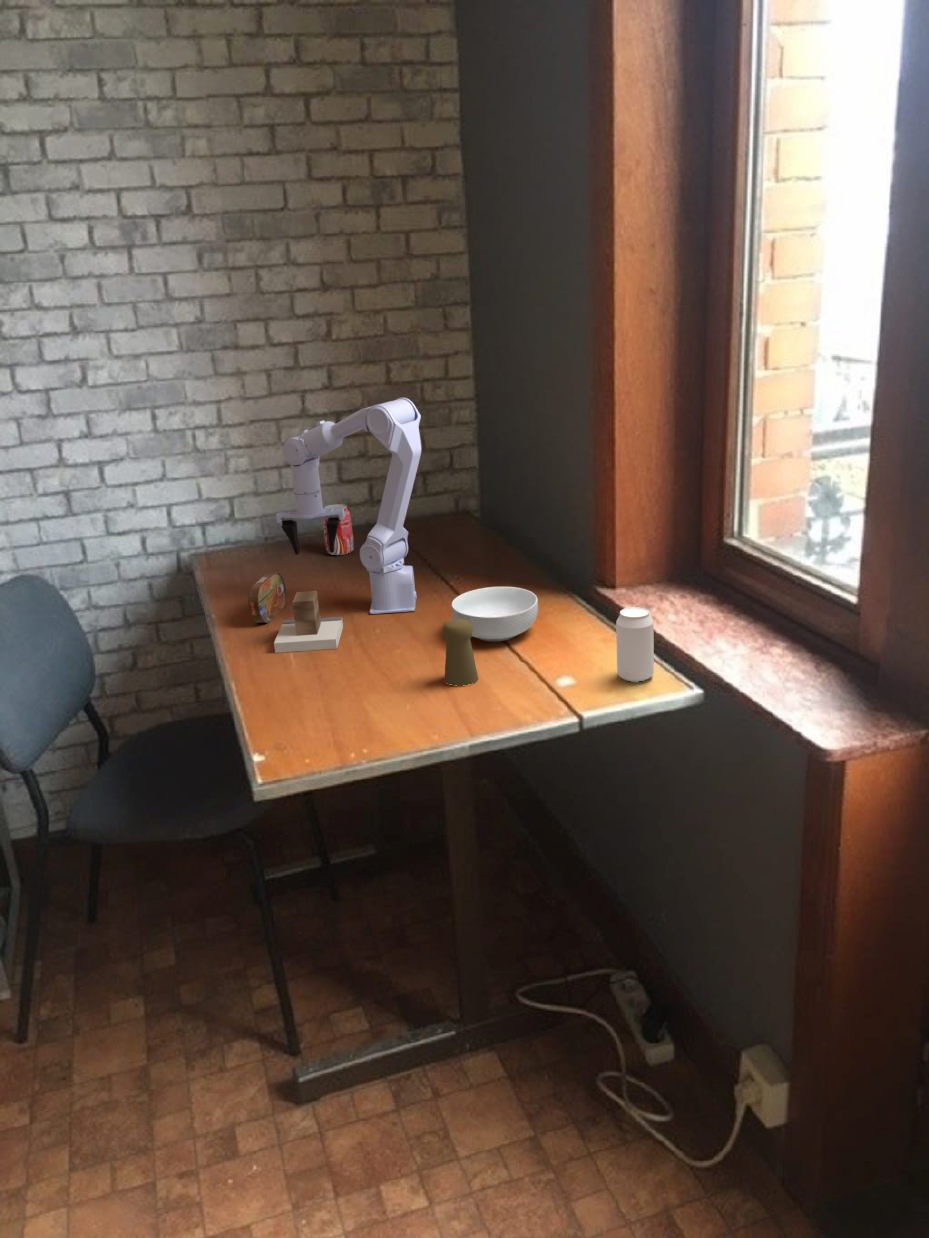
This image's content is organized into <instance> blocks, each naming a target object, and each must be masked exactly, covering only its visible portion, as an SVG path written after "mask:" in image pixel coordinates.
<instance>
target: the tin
mask: <svg viewBox="0 0 929 1238" xmlns="http://www.w3.org/2000/svg"><path fill="white" fill-rule="evenodd" d="M286 590H287V589H286V584H285V580H284V578H283V576H282V574H281V573H279V572H274V573H273V572H272V573H266V574H264V575H262V577H261V578H259V579H258V580H257V581H256V582H255V583H253V585H252V586H250V589H249V591H248V596H247V603H248V607H249V612H250V613H249V614H250V616H251V619H252V620H253V622H255V623H257V624H263V623H264V624H265V623H266V624H269V623H271V622H273V619H275V618H276V617H277V616H278V614H280V613H281V612H282V611H283V610H284V609H285V605H286V603H287V591H286Z"/></svg>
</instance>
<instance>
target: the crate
mask: <svg viewBox="0 0 929 1238" xmlns="http://www.w3.org/2000/svg"><path fill="white" fill-rule="evenodd" d="M291 603H292V610H293V617H294V620H295V626H296V633H297V636H301V635H316V634H318V631H319V628H320V625H321V621H320V618H321V615H320V614H321V613H320V608H319V607H320V606H319V595H318V590H308V591H296V593H295V596H294V598H293V600H292V602H291Z"/></svg>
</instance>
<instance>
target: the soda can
mask: <svg viewBox="0 0 929 1238" xmlns="http://www.w3.org/2000/svg"><path fill="white" fill-rule="evenodd" d="M323 508H334V509H341V508H344V514H345V518H344V519H340V522H339V526H338V529H337V533H336V538H335V550H334V552H333V553H330V548H329V536H328V530H327V525H326V523H327V521H328V519H325V520H322V526H323V535H324V536H323V537H324V544H325V550H326V553H327V554H330V556H332V555H344V556H346V555H345V554H347V555H349V554H351V552H353V550H354V534H353V525H352V518H351V513H350V511H349V509H348V505H346V504H345V503H336V504H335V503H334V504H329V505H326V506H323ZM348 553H349V554H348Z"/></svg>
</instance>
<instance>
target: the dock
mask: <svg viewBox="0 0 929 1238" xmlns="http://www.w3.org/2000/svg"><path fill="white" fill-rule="evenodd" d="M320 621H321V625H320V628H319V631H318V634H316V635H301V636H297V633H296V626H295V619H290V620H289V619H288V620H283V621H282V622H281V626H280V628H279V630H278V632H277V635H276V637H275V639H274V642H273V647H274V653H275V654H277V653H279V654H280V653H293V652H295V653H296V652H306V651H307V652H308V651H320V650H321V651H324V650H325V651H326V650H337V649H338V646H339V643H340V639H341V635H342V631H343V628H344V623H343V617H342V616H334V617H331V616H330V617H320Z"/></svg>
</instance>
